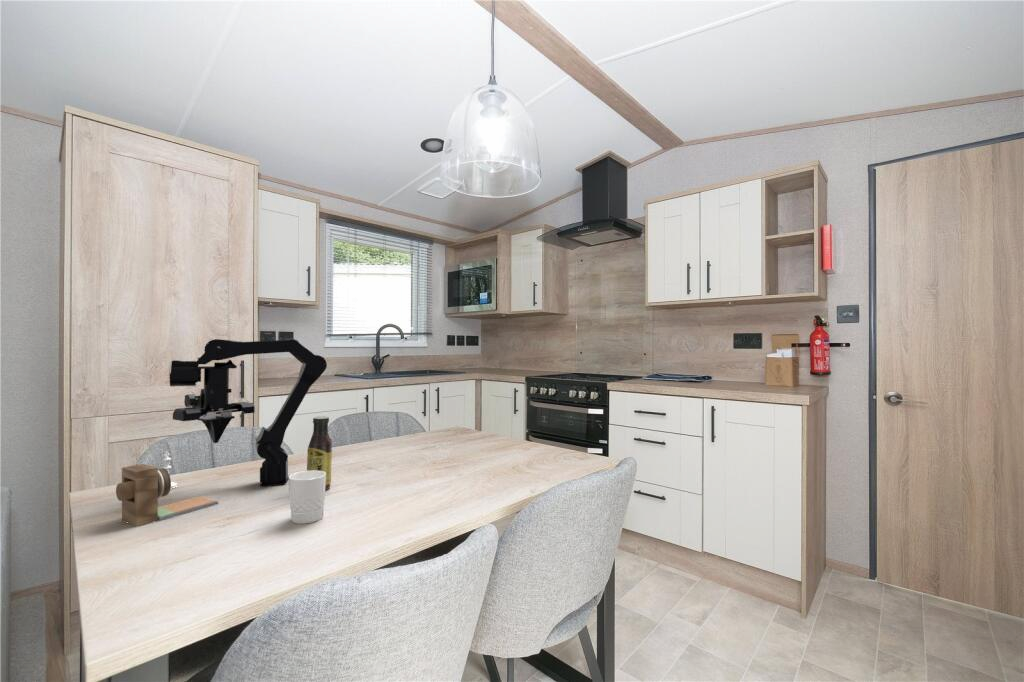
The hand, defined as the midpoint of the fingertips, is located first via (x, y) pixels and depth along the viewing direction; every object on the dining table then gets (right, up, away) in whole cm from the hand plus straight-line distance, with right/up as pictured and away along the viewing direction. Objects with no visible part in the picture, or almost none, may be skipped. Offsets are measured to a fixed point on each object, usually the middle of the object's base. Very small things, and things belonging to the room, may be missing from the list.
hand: (215, 442), depth 127 cm
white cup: (+34, -13, -20) cm, 41 cm away
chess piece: (-15, -13, +3) cm, 21 cm away
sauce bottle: (+28, -13, +2) cm, 31 cm away
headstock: (-4, -13, -21) cm, 25 cm away
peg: (-4, -9, -21) cm, 23 cm away
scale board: (0, -13, -14) cm, 19 cm away
